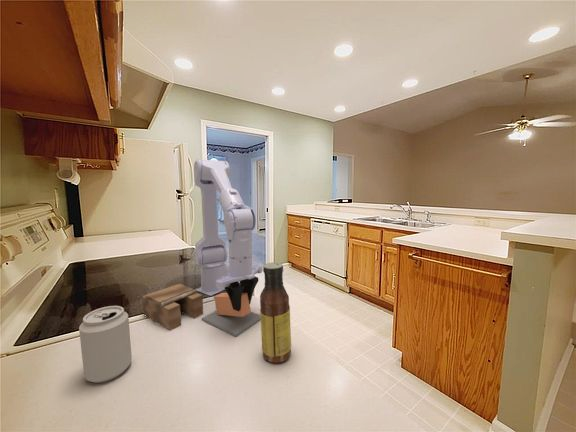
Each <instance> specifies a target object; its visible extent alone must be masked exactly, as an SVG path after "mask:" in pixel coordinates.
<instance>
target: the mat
mask: <svg viewBox="0 0 576 432" xmlns="http://www.w3.org/2000/svg"><path fill="white" fill-rule="evenodd" d="M201 321H202V322H204V323H207V324H208V325H210V326H213V327H215V328H216V329H219V330H221V331H222V332H225V333H226V334H229V335H231V336H233V337H235V338H237V337H238V336H240V335H241V334H243V333H244V332H246V331H248V330H249V329H250V328H251V327H253V326H254V325H256V324H258V323H259V322H261V317H260V314H258V313H255V312H252V311H251V312H250V313H248V314H246V315H245V316H243V317H240V316H229V315H217V310H214V311H212V312H211V313H209V314H207V315H205V316H203V317H201Z"/></svg>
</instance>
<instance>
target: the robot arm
mask: <svg viewBox="0 0 576 432" xmlns="http://www.w3.org/2000/svg"><path fill="white" fill-rule="evenodd" d="M193 165H194V166H193V176H194V177H193V178H194V179H193V180H194V183H195V184H194V185H195V186H196V187H198V188H199V189H200V194H201V209H202V210H201V211H202V212H201V213H202V214H201V215H202V230H203V231H202V232H203V233H202V234H203V236H202V237H201V238H200V239H199V240H197V242H195V246H194V248H195V249H194V261H195V263H196V265H197V266H198V267H200V284H201V285H200V287H198V288H195V289H196V290H197V292H199V293H200V294H201V293H202V294H204V295H206V296H209V297H212V296H215V295H218V294H220V293H222V292H223V291H225V293H227V294H228V296H229V298H230V301H231V304H232V307H233V309H234V310H236V311H240V309H241V297H242V293H247V294H248V299H249V304H250V305H251V301H252V298H253V294H254V290H255V289H256V287H257V285H258V282H259V277H257V276H255V275H256V274H262V273H263V265H259V264H255V265H253V247H252V246H253V241H252V240H253V239H252V237H253V236H252V234H253V233H252V232H253V230H254V229H255V228H256V226H257V225H256V223H257V217H256V214H255V211H254V208H252V207H250V206H248V205H246V204H245V202H244V200H243V199H242V197H241V195H240V193H239V191H238V190H237V189H235V188H233V187H232V184H231V181H230V179H229V178H230V174H231V169H230V168H231V167H230V164H229V163H228V161H227V160H213V159H212V160H211V159H209V160H208V159H200V158H197V159H196V160H195V161H194V164H193ZM217 192H218V193H219V194H218V198H217ZM217 200H218V201H217ZM217 202H219V205H220V207H221V209H222V212H223V214H224V217H223V218H224V219H223V221H224V228H225V234H226V235H225V236H226V239H228V249H227V243H226V240H225V239H224V238H221V237H220V236H219V223H218V222H219V221H218V203H217ZM227 259H228V263H227V262H226V261H227Z"/></svg>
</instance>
